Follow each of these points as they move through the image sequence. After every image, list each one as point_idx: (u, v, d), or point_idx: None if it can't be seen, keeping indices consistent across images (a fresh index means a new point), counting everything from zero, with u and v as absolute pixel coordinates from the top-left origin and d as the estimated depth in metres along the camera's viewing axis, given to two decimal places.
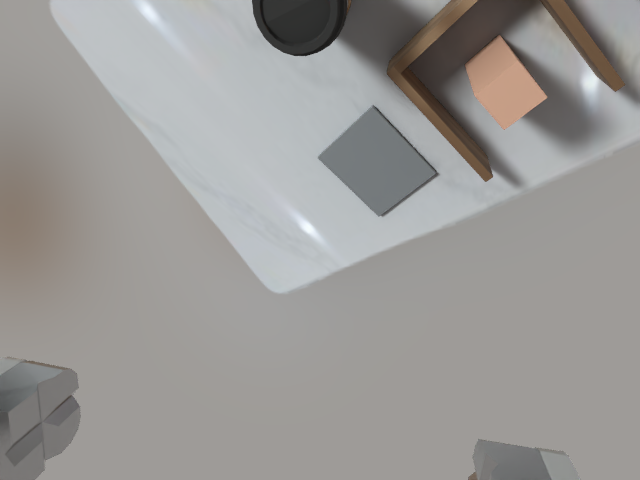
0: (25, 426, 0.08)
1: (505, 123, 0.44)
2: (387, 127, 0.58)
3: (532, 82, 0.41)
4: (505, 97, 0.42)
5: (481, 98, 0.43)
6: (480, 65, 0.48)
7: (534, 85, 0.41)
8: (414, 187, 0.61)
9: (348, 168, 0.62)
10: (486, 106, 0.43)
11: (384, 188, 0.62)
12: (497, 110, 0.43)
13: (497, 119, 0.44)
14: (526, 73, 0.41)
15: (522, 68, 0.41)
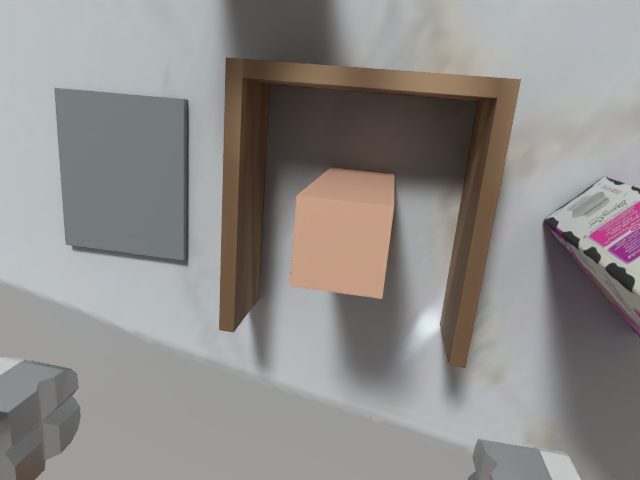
0: (25, 426, 0.08)
1: (300, 278, 0.22)
2: (177, 145, 0.33)
3: (383, 257, 0.21)
4: (332, 240, 0.22)
5: (301, 209, 0.21)
6: (344, 178, 0.28)
7: (381, 264, 0.22)
8: (143, 251, 0.36)
9: (82, 144, 0.35)
10: (297, 228, 0.22)
11: (104, 215, 0.36)
12: (306, 249, 0.22)
13: (295, 262, 0.22)
14: (387, 237, 0.21)
15: (389, 224, 0.21)
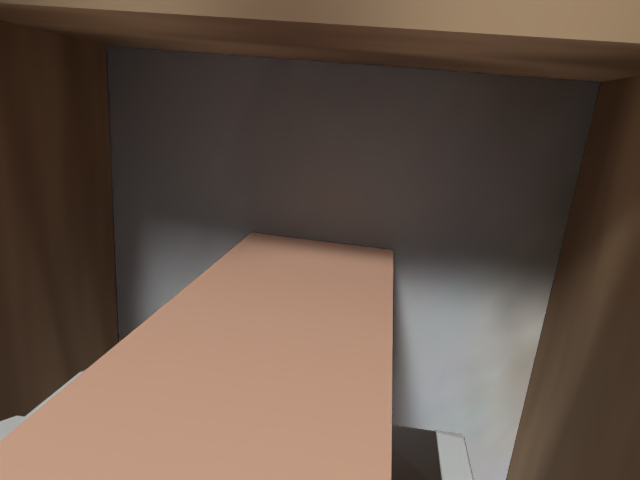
0: None
1: None
2: None
3: None
4: None
5: None
6: (250, 298, 0.10)
7: None
8: None
9: None
10: None
11: None
12: None
13: None
14: None
15: None
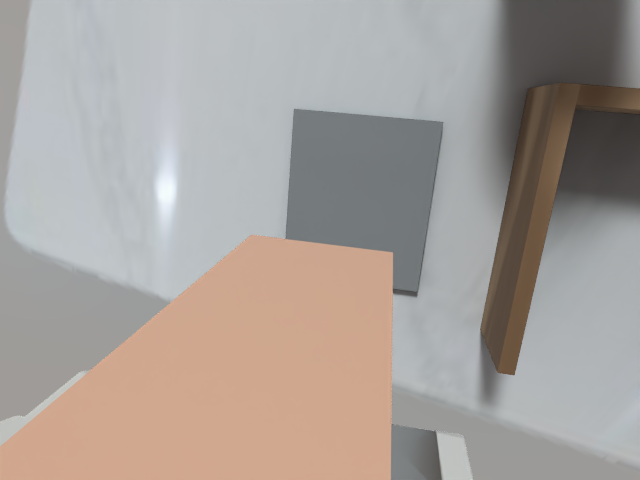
0: None
1: None
2: (428, 170, 0.31)
3: None
4: None
5: None
6: (249, 302, 0.10)
7: None
8: None
9: (318, 168, 0.32)
10: None
11: (333, 243, 0.34)
12: None
13: None
14: None
15: None
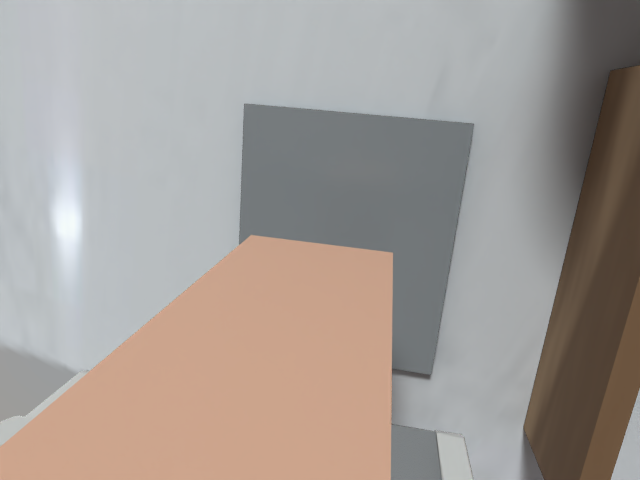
0: None
1: None
2: (450, 198, 0.20)
3: None
4: None
5: None
6: (249, 302, 0.10)
7: None
8: None
9: (282, 194, 0.21)
10: None
11: None
12: None
13: None
14: None
15: None
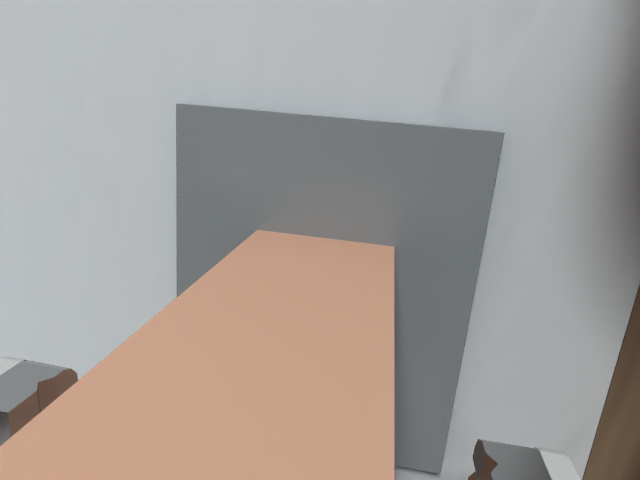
0: None
1: None
2: (468, 238, 0.14)
3: None
4: None
5: None
6: (259, 291, 0.10)
7: None
8: None
9: (232, 230, 0.15)
10: None
11: None
12: None
13: None
14: None
15: None
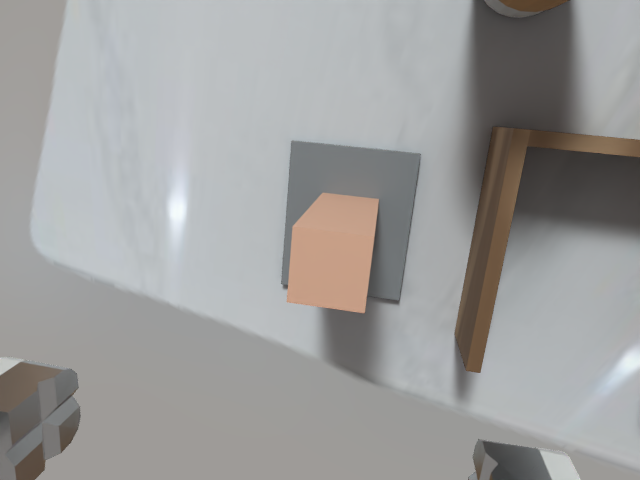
0: (25, 426, 0.08)
1: (295, 296, 0.26)
2: (408, 195, 0.36)
3: (365, 279, 0.25)
4: (322, 264, 0.26)
5: (296, 238, 0.25)
6: (334, 206, 0.32)
7: (364, 284, 0.26)
8: None
9: (312, 192, 0.37)
10: (293, 253, 0.26)
11: None
12: (301, 270, 0.26)
13: (291, 282, 0.26)
14: (368, 261, 0.25)
15: (370, 251, 0.25)
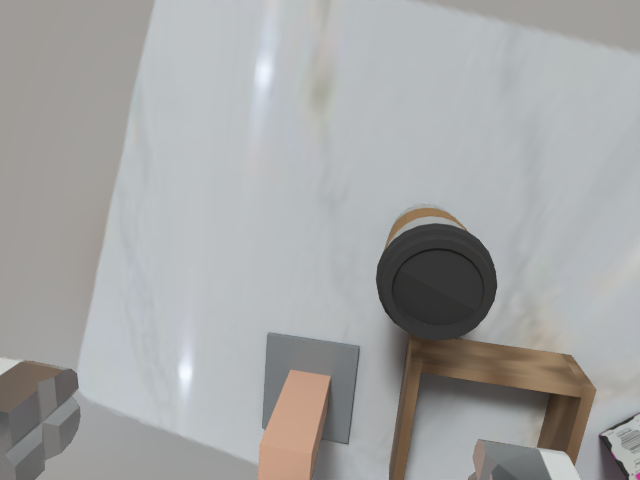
0: (25, 426, 0.08)
1: None
2: (351, 374, 0.50)
3: (307, 477, 0.39)
4: (279, 466, 0.40)
5: (262, 450, 0.39)
6: (294, 398, 0.46)
7: None
8: None
9: (282, 369, 0.51)
10: (261, 459, 0.40)
11: None
12: (266, 469, 0.40)
13: (260, 475, 0.40)
14: (308, 467, 0.39)
15: (309, 461, 0.39)
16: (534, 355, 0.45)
